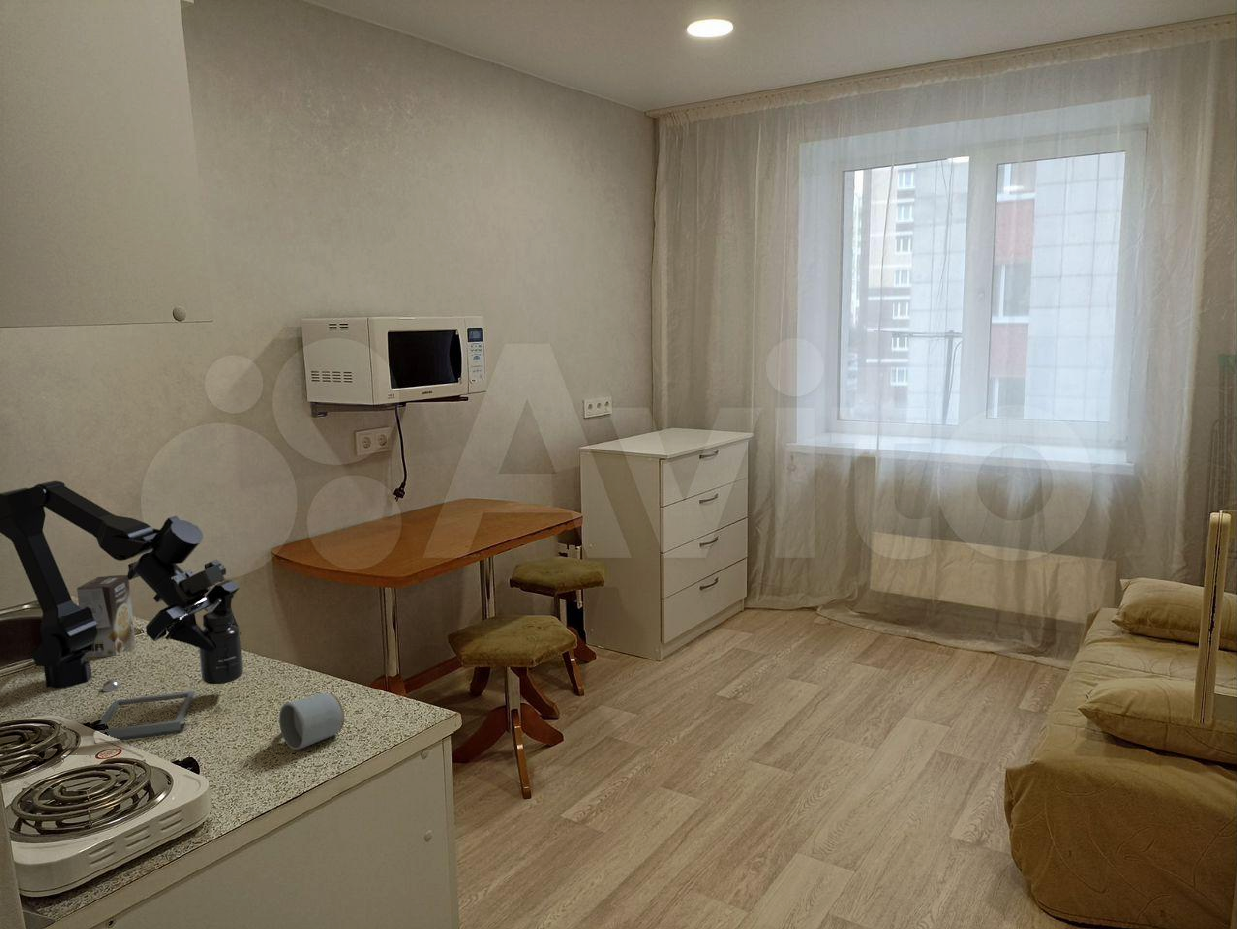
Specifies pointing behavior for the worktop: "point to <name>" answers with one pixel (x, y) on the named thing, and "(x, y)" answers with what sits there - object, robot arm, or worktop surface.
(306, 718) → the ceramic mug
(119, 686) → the mixing ball
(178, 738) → the worktop surface
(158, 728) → the tray
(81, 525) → the robot arm
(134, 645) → the coffee box
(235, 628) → the supplement bottle
